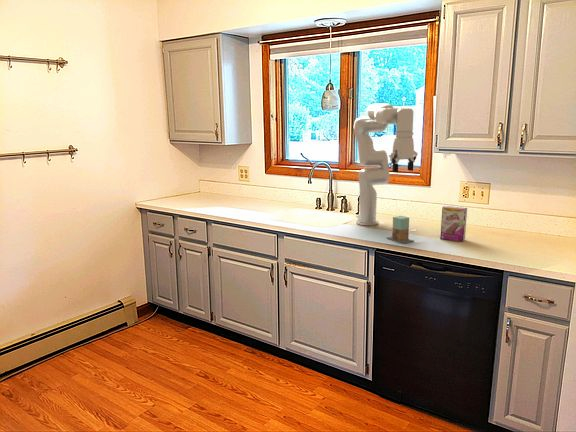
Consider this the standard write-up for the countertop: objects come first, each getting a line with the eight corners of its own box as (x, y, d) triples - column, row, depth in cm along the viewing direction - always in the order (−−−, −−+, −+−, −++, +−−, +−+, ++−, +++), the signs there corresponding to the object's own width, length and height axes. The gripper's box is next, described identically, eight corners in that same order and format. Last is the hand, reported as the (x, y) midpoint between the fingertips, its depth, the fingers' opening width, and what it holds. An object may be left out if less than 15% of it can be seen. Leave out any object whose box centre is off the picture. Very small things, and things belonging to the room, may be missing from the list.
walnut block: (392, 238, 236) (392, 227, 235) (400, 237, 239) (400, 226, 238) (400, 241, 232) (400, 230, 230) (408, 239, 234) (408, 228, 233)
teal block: (392, 227, 235) (393, 217, 234) (400, 226, 238) (401, 215, 237) (400, 230, 230) (401, 219, 229) (408, 228, 233) (409, 217, 232)
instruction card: (403, 229, 257) (403, 228, 257) (409, 228, 259) (409, 227, 259) (411, 231, 252) (411, 230, 252) (417, 230, 254) (417, 229, 254)
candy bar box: (439, 239, 236) (441, 207, 233) (442, 237, 240) (444, 205, 237) (463, 242, 230) (465, 209, 227) (465, 239, 235) (467, 207, 231)
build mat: (386, 238, 239) (386, 237, 239) (397, 236, 242) (397, 235, 242) (403, 243, 229) (403, 242, 228) (414, 241, 232) (414, 240, 232)
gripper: (411, 134, 232) (410, 169, 236) (384, 135, 224) (383, 171, 227) (423, 134, 226) (421, 170, 229) (396, 136, 217) (394, 173, 221)
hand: (402, 171), depth 228 cm, fingers open, 9 cm apart
